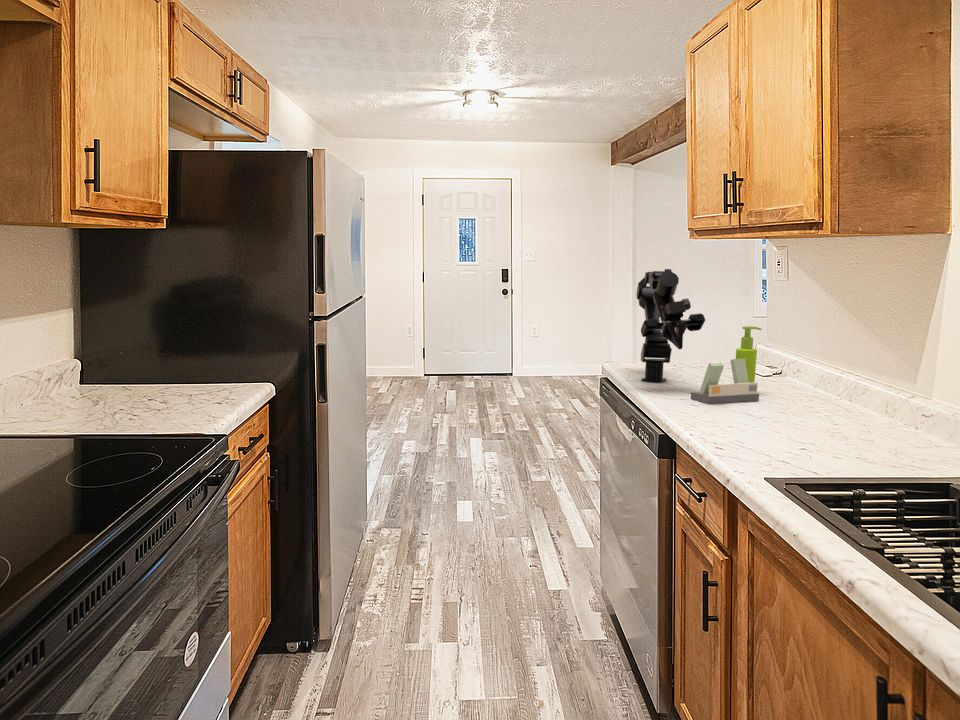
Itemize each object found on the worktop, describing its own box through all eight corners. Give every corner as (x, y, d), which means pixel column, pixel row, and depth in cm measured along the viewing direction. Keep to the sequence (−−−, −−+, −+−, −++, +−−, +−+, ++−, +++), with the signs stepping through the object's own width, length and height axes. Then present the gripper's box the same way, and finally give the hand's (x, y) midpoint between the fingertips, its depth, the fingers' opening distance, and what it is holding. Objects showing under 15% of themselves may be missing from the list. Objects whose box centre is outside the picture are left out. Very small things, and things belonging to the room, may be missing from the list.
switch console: (690, 398, 233) (691, 381, 233) (739, 395, 240) (740, 378, 239) (708, 404, 226) (709, 385, 225) (758, 400, 233) (759, 382, 232)
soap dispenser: (759, 394, 244) (764, 327, 241) (736, 393, 244) (741, 327, 241) (753, 391, 249) (758, 326, 247) (731, 390, 250) (735, 325, 247)
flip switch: (699, 391, 230) (708, 363, 226) (711, 390, 231) (720, 362, 227) (702, 394, 229) (712, 366, 224) (714, 393, 230) (724, 365, 226)
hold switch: (735, 390, 235) (730, 360, 237) (746, 390, 237) (741, 359, 238) (739, 389, 234) (733, 359, 235) (750, 389, 235) (744, 358, 237)
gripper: (642, 293, 242) (657, 337, 234) (702, 286, 244) (718, 330, 236) (634, 314, 251) (648, 357, 243) (692, 308, 254) (707, 350, 246)
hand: (680, 348), depth 242 cm, fingers closed
